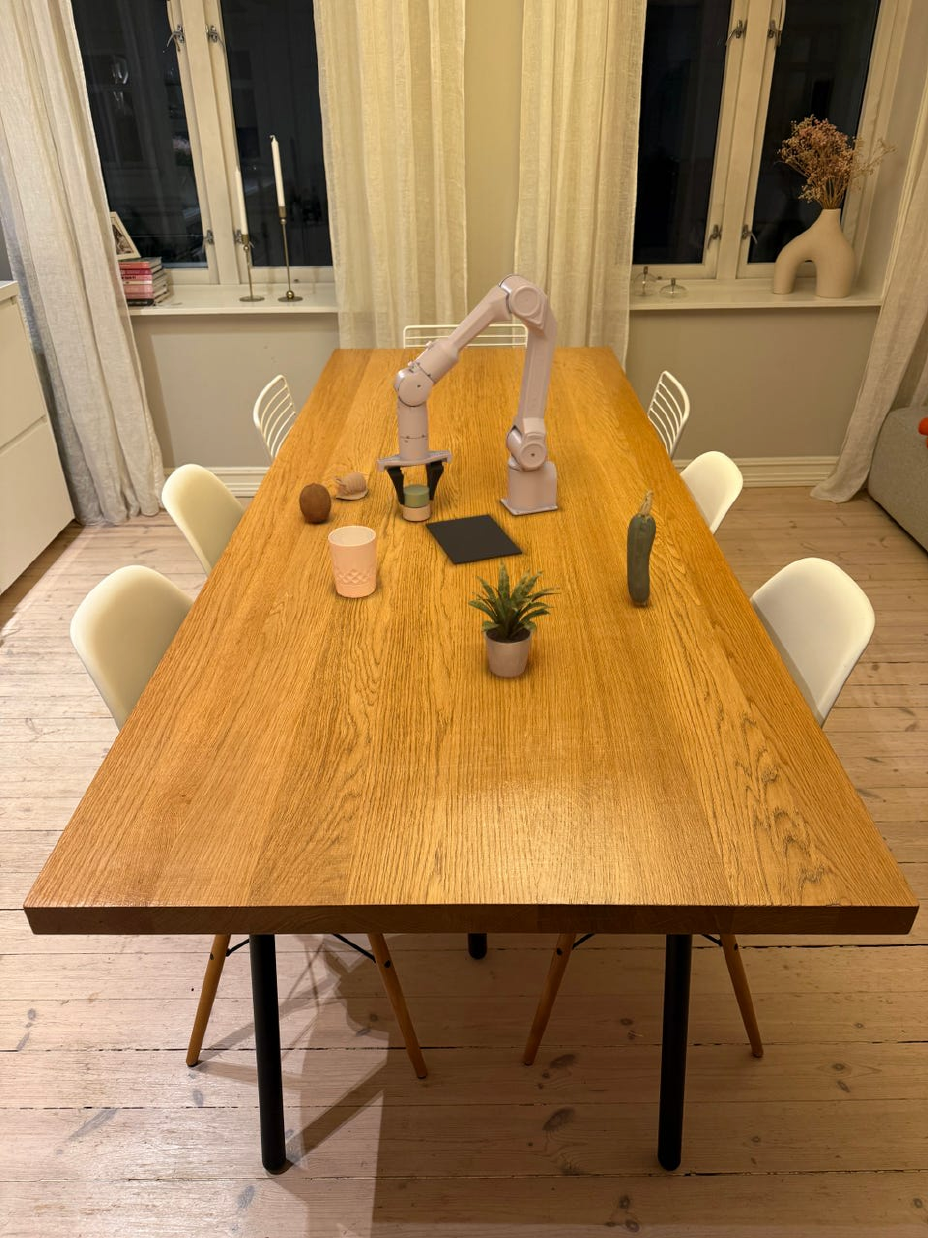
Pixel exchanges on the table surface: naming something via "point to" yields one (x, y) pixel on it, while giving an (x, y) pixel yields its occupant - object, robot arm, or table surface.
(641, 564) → the vegetable
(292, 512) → the table surface
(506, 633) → the house plant
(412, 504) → the sage green puck
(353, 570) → the pink cup
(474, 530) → the mat
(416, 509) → the cream cylinder
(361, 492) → the decorative ornament
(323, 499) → the fruit
